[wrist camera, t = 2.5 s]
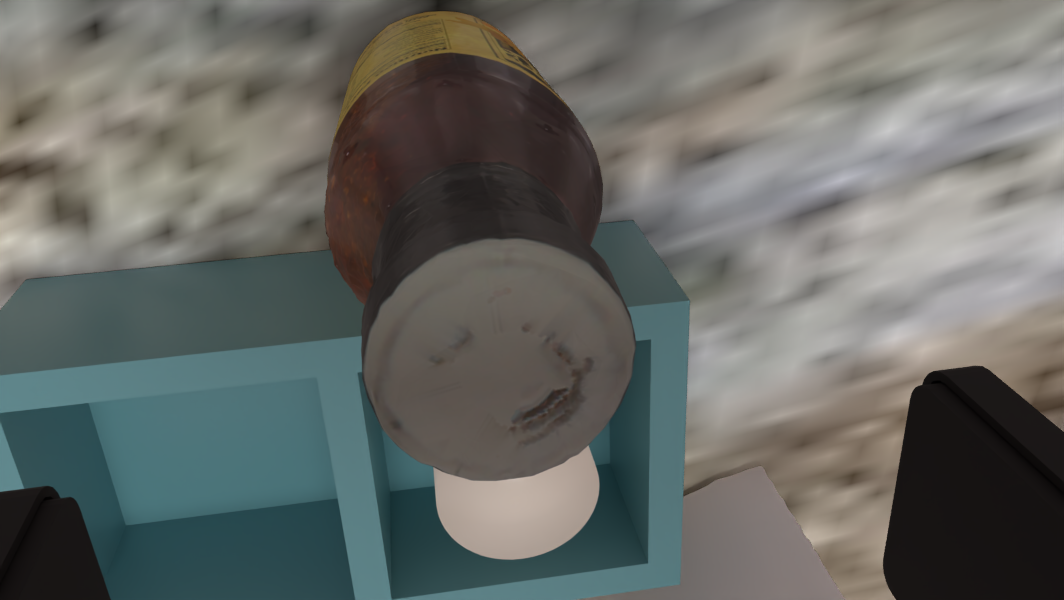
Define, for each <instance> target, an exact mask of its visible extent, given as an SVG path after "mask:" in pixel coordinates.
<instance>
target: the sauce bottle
mask: <svg viewBox="0 0 1064 600" xmlns="http://www.w3.org/2000/svg"><path fill="white" fill-rule="evenodd" d="M327 182H328V185H327V190H326V203H325V211H324V212H325V226H326V234H327V236H328V237H329V245H330V249H331V252H332V255H333V259H334V266H335V267H336V268H337V269H338V271H339V272H340V274H341V276H342V277H343V279H344V281H345V282H346V283H347V284H348V285H349V287H350V288H351V289H352V291H353V293H354V294H355V295H356V297H357V299H358V300H359V301H360V302H361V303H363V304H364V305H365V306H364V309H363V316H362V329H361V336H362V343H361V357H362V379H363V383H364V387H365V390H366V394H367V397H368V400H369V402H370V404H371V406H372V408H373V411H374V413H375V415H376V417H377V419H378V422H379V424H380V426H381V428H382V429H383V430H384V432H385V433H386V434H387V435H388V436H389V437H390V439H391V440H392V441H393V442H394V443H395V444H396V445H397V446H398V447H399V448H400V449H402V450H403V451H404V452H405V453H407V454H408V455H409V456H411V457H412V458H414V459H415V460H417V461H418V462H420V463H422V464H426V465H429V466H432V467H434V468H436V469H438V470H440V471H442V472H444V473H447V474H450V475H454V476H458V477H461V478H465V479H468V480H472V481H500V480H508V479H516V478H523V477H530V476H534V475H536V474H539V473H541V472H544V471H546V470H548V469H551V468H553V467H556V466H558V465H560V464H563V463H565V462H566V461H567V460H568V459H569V458H571V457H574V456H576V455H578V454H579V453H580V452H582V451H583V450H584V449H585V448H586V447H587V446H588V445H589V444H590V443H591V442H592V441H593V439H594V438H595V437H596V436H597V435H598V434H599V433H600V432H601V431H602V430H603V429H604V428H605V427H606V425H607V424H608V422H609V421H610V419H611V418H612V417H613V415H614V414H615V412H616V411H617V409H618V408H619V406H620V405H621V403H622V401H623V398H624V396H625V394H626V391H627V389H628V387H629V383H630V380H631V377H632V373H633V364H634V356H635V349H636V338H635V332H634V328H633V324H632V319H631V315H630V313H629V310H628V308H627V306H626V304H625V302H624V299H623V297H622V295H621V293H620V290H619V288H618V286H617V284H616V281H615V279H614V277H613V275H612V273H611V271H610V269H609V267H608V266H607V264H606V262H605V260H604V259H603V258H602V257H601V256H600V255H599V254H598V253H597V252H596V251H595V250H594V249H593V248H592V247H591V243H592V241H593V238H594V236H595V233H596V230H597V227H598V224H599V220H600V215H601V211H602V195H603V183H602V177H601V170H600V166H599V162H598V159H597V155H596V152H595V150H594V148H593V145H592V143H591V141H590V139H589V137H588V135H587V133H586V131H585V130H584V128H583V127H582V125H581V124H580V122H579V121H578V119H577V118H576V116H575V115H574V114H573V112H572V111H571V110H570V108H569V107H568V106H567V105H566V103H565V102H564V101H563V100H562V99H561V98H560V97H559V95H558V94H557V93H556V92H555V91H554V90H553V89H552V88H551V87H550V86H549V85H548V84H547V82H546V81H545V80H544V79H543V78H542V76H541V75H540V73H539V72H538V70H537V69H536V68H535V67H534V66H533V65H532V64H531V63H530V62H529V61H528V59H527V58H526V57H525V56H524V55H523V53H522V52H521V51H520V50H519V49H518V48H517V47H516V45H515V44H514V43H513V42H512V41H511V40H510V39H509V38H508V37H506V36H505V35H504V34H503V33H502V32H500V31H499V30H498V29H496V28H495V27H494V26H492V25H490V24H488V23H486V22H485V21H483V20H481V19H478V18H476V17H474V16H471V15H467V14H463V13H459V12H449V11H435V12H424V13H420V14H415V15H412V16H408V17H406V18H403V19H401V20H399V21H397V22H394V23H392V24H390V25H388V26H387V27H386V28H385V29H384V30H382V31H381V32H380V33H379V34H378V35H377V36H376V37H375V38H374V39H373V40H372V41H371V42H370V43H369V45H368V46H367V47H366V48H365V50H364V51H363V53H362V54H361V56H360V57H359V59H358V61H357V63H356V65H355V67H354V69H353V72H352V74H351V77H350V81H349V85H348V88H347V92H346V96H345V99H344V103H343V106H342V110H341V114H340V117H339V121H338V125H337V128H336V132H335V136H334V139H333V144H332V148H331V152H330V156H329V163H328V175H327Z"/></svg>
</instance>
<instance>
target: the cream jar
mask: <svg viewBox="0 0 1064 600" xmlns="http://www.w3.org/2000/svg"><path fill="white" fill-rule="evenodd" d="M433 470H434V483H435V495H436V506H437V511H438V515H439V518H440V521H441V523H442V525H443V526H444V528H445V530H446V531H447V532H448V534H449V535H450V536H451V537H452V538H453V539H454V540H455V541H456V542H457V543H458V544H460V545H461V546H463V547H464V548H466V549H468V550H470V551H472V552H474V553H476V554H479V555H482V556H485V557H490V558H495V559H508V560H514V559H524V558H529V557H534V556H537V555H541V554H544V553H546V552H549V551H551V550H553V549H555V548H557V547H559V546H561V545H562V544H564V543H565V542H567V541H568V540H570V539H571V538H572V537H573V536H574V535H576V534H577V533H578V532H579V531H580V530H581V529H582V527H583V526H584V525H585V524H586V522H587V521H588V520H589V518H590V516H591V515H592V513H593V511H594V508H595V506H596V503H597V500H598V495H599V476H598V472H597V468H596V465H595V462H594V460H593V457H592V454H591V451H590V448H589V445H588V446H587V447H586V448H585V449H584V450H583V451H582V452H580V453H579V454H578V455H576V456H574V457H571V458H569V459H568V460H567V461H566V462H565V463H563V464H560V465H558V466H556V467H553V468H551V469H548V470H546V471H544V472H541V473H539V474H536V475H534V476H530V477H523V478H516V479H508V480H500V481H472V480H468V479H465V478H461V477H458V476H454V475H450V474H447V473H444V472H442V471H440V470H438V469H436V468H434V467H433Z"/></svg>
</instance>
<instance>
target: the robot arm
mask: <svg viewBox="0 0 1064 600" xmlns="http://www.w3.org/2000/svg"><path fill="white" fill-rule="evenodd" d="M883 569H884V575H885V579H886V582H887V585H888V587H889V589H890V591H891V593H892V594H893V596H894V597H895V598H896V600H1064V432H1063V431H1062V430H1061V429H1059V428H1058V427H1057V426H1056V425H1055V424H1053V423H1052V422H1051V421H1050V420H1049V419H1047V418H1046V417H1045V416H1044V415H1043V414H1041V413H1040V412H1039V411H1038V410H1037V409H1035V408H1034V407H1033V406H1032V405H1031V404H1029V403H1028V402H1027V401H1026V400H1025V399H1023V398H1022V397H1021V396H1020V395H1019V394H1017V393H1016V392H1015V391H1014V390H1013V389H1011V388H1010V387H1009V386H1008V385H1007V384H1005V383H1004V382H1003V381H1002V380H1000V379H999V378H998V377H997V376H996V375H994V374H993V373H992V372H991V371H990V370H988V369H986V368H984V367H983V366H970V367H963V368H955V369H947V370H939V371H933V372H931V373H929V374H928V375H927V376H926V378H925V379H924V381H923V385H920V386H918V387H915V389H914V390H913V392H912V395H911V398H910V404H909V410H908V416H907V421H906V427H905V433H904V439H903V445H902V451H901V457H900V463H899V469H898V475H897V481H896V487H895V493H894V499H893V505H892V510H891V516H890V522H889V528H888V534H887V540H886V546H885V552H884V558H883ZM0 600H111V599H110V596H109V593H108V590H107V587H106V584H105V581H104V578H103V575H102V572H101V569H100V566H99V563H98V560H97V557H96V554H95V551H94V548H93V545H92V543H91V540H90V537H89V534H88V531H87V528H86V525H85V522H84V519H83V516H82V513H81V510H80V507H79V505H78V503H77V501H76V500H75V499H74V498H72V497H65V498H60V496H59V494H58V492H57V491H56V490H55V489H54V488H53V487H51V486H41V487H33V488H26V489H18V490H10V491H2V492H0Z"/></svg>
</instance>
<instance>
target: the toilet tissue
mask: <svg viewBox="0 0 1064 600" xmlns="http://www.w3.org/2000/svg"><path fill="white" fill-rule="evenodd" d="M577 600H845V598H844V597H843V595H842V594H841V592H840V590H839V589H838V587H837V586H836V584H835V582H834V581H833V579H832V578H831V576H830V575H829V573H828V571H827V570H826V568H825V567H824V565H823V563H822V562H821V560H820V558H819V555H818V553H817V552H816V551H815V550H814V549H813V547H812V544H811V542H810V541H809V540H808V539H807V538H806V536H805V535H804V533H803V531H802V528H801V526H800V525H799V524H798V523H797V522H796V520H795V517H794V515H793V514H792V513H791V512H790V511H789V510H788V508H787V506H786V503H785V501H784V500H783V499H782V498H781V497H780V495H779V494H778V492H777V491H776V489H775V487H774V484H773V482H772V481H771V480H770V479H769V478H768V476H767V475H766V472H765V470H764V468H763V467H762V466H758V467H754V468H750V469H747V470H744V471H742V472H739V473H737V474H734V475H731V476H728V477H725V478H721V479H717V480H715V481H713V482H712V483H710V484H709V485H707V486H705V487H703V488H701V489H699V490H697V491H695V492H693V493H690V494H688V495H686V496H684V497H683V516H682V546H681V575H680V585H673V586H666V587H660V588H653V589H646V590H639V591H632V592H625V593H618V594H611V595H604V596H597V597H591V598H584V599H577Z"/></svg>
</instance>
